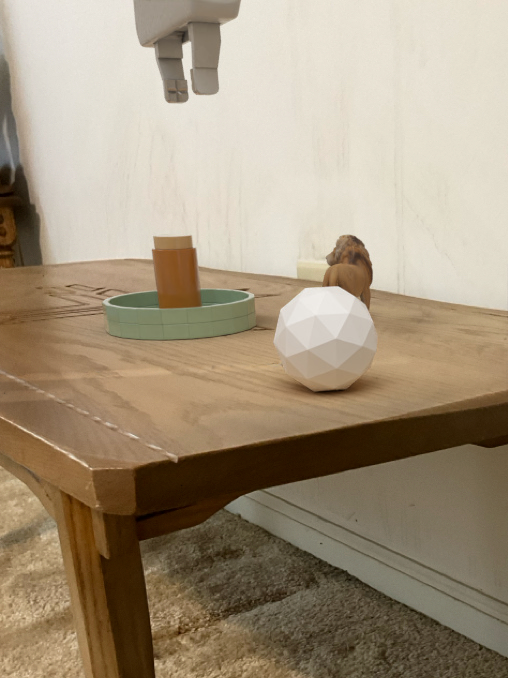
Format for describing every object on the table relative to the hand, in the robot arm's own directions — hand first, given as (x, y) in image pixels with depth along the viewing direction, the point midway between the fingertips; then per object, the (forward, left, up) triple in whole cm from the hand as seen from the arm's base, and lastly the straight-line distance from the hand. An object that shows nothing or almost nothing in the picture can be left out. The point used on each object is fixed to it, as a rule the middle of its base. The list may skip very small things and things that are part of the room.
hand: (190, 99), depth 70 cm
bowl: (-4, +12, -21) cm, 24 cm away
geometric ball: (+9, -16, -21) cm, 28 cm away
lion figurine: (+13, +12, -21) cm, 28 cm away
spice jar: (-4, +12, -20) cm, 24 cm away
